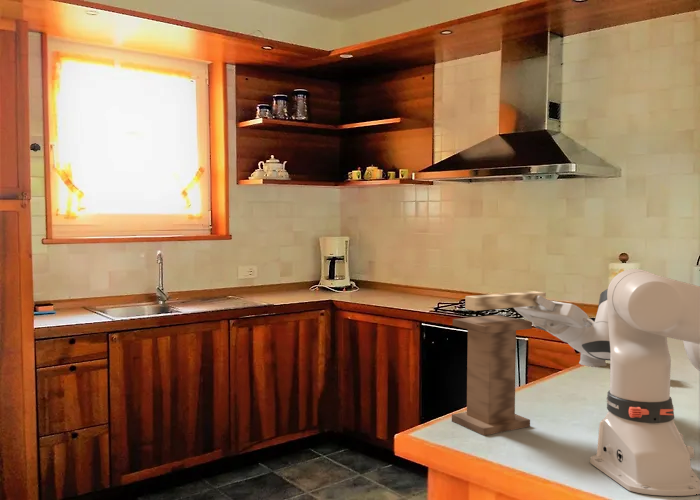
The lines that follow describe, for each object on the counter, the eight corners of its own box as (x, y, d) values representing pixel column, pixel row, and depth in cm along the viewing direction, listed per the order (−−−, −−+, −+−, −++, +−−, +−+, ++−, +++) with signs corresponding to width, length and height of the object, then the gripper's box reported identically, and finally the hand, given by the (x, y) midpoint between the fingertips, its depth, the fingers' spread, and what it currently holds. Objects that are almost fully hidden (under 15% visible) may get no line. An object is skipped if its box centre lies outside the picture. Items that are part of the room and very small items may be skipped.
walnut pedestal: (496, 412, 168) (497, 314, 166) (530, 426, 157) (531, 321, 156) (451, 421, 161) (452, 319, 160) (483, 435, 151) (485, 326, 149)
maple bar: (535, 303, 166) (535, 291, 166) (545, 304, 163) (545, 292, 163) (465, 308, 156) (465, 296, 156) (474, 310, 153) (474, 297, 153)
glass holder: (593, 360, 229) (594, 317, 228) (624, 369, 216) (625, 323, 215) (573, 362, 226) (574, 318, 225) (603, 371, 212) (604, 325, 212)
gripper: (591, 339, 159) (555, 314, 153) (530, 326, 177) (496, 303, 171) (601, 315, 161) (565, 289, 154) (540, 305, 179) (506, 281, 172)
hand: (528, 296), depth 163 cm, fingers closed on maple bar, 3 cm apart
